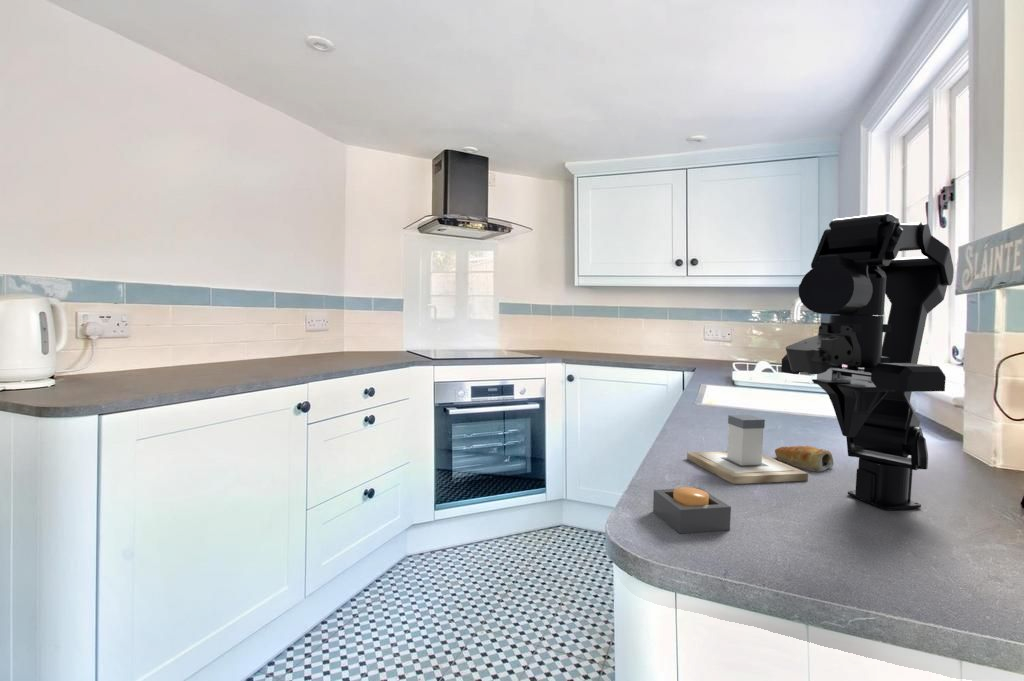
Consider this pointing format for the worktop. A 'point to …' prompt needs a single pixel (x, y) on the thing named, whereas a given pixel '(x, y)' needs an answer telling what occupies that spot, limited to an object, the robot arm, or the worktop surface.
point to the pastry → (806, 457)
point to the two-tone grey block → (745, 439)
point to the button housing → (691, 513)
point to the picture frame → (746, 469)
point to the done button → (690, 496)
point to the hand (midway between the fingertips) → (848, 436)
